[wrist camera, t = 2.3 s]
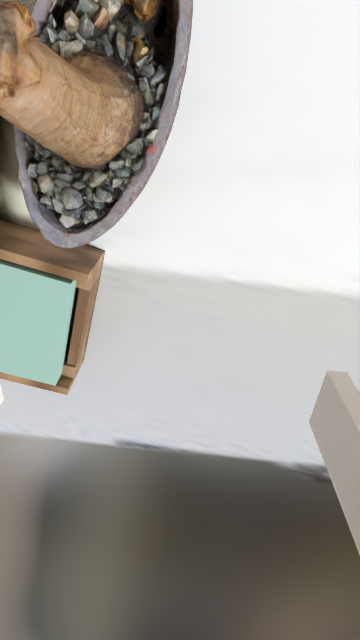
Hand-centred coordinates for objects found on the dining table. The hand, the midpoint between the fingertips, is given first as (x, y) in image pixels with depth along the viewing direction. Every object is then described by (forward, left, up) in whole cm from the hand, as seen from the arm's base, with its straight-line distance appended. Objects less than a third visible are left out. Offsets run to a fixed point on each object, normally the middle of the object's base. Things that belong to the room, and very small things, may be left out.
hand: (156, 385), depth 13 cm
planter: (-8, +8, -23) cm, 25 cm away
